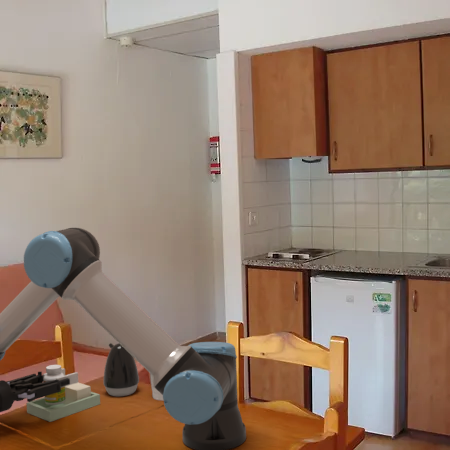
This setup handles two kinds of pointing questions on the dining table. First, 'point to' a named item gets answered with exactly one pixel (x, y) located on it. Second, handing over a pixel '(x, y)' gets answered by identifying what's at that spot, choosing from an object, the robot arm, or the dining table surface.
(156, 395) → the white cup
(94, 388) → the dining table surface
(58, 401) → the supplement bottle
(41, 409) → the tray
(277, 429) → the dining table surface
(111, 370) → the pump dispenser
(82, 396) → the off-white upright cuboid
